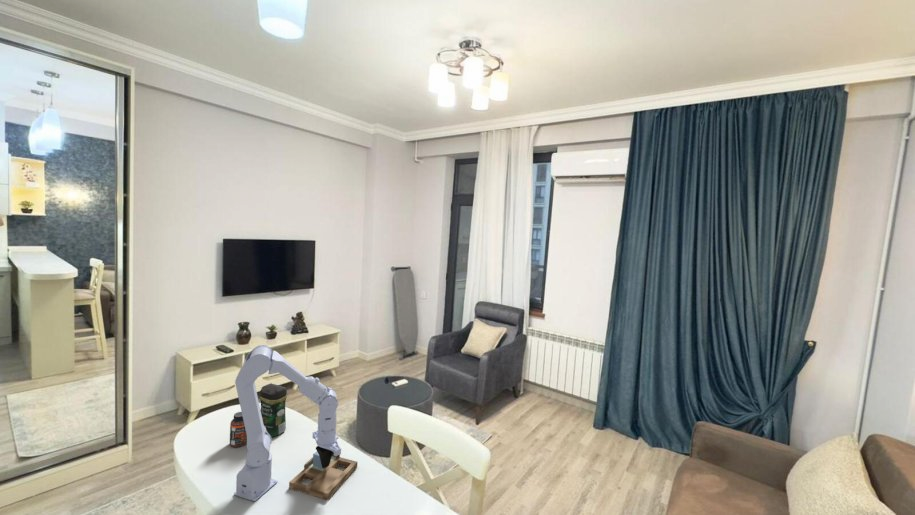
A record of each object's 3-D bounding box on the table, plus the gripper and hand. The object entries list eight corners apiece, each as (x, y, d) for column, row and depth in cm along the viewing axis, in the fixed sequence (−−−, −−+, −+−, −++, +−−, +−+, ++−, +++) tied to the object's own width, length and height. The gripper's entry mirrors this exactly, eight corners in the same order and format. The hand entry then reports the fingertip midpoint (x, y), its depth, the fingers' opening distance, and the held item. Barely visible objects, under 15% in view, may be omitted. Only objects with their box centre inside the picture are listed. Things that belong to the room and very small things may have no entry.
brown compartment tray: (327, 499, 116) (328, 488, 116) (288, 488, 120) (289, 477, 120) (357, 467, 132) (357, 457, 132) (322, 457, 136) (322, 448, 136)
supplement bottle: (233, 450, 137) (234, 419, 136) (226, 443, 141) (227, 414, 140) (251, 443, 142) (251, 414, 141) (243, 437, 146) (244, 408, 145)
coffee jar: (254, 432, 149) (256, 386, 147) (271, 423, 156) (273, 379, 155) (272, 439, 145) (274, 392, 144) (289, 430, 152) (291, 385, 151)
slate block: (322, 468, 127) (322, 457, 127) (313, 465, 129) (313, 454, 128) (330, 462, 131) (330, 450, 130) (321, 459, 132) (321, 448, 132)
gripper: (350, 431, 124) (348, 471, 125) (326, 415, 133) (325, 452, 134) (330, 439, 119) (328, 481, 120) (307, 422, 128) (305, 460, 129)
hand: (325, 466), depth 127 cm, fingers closed
